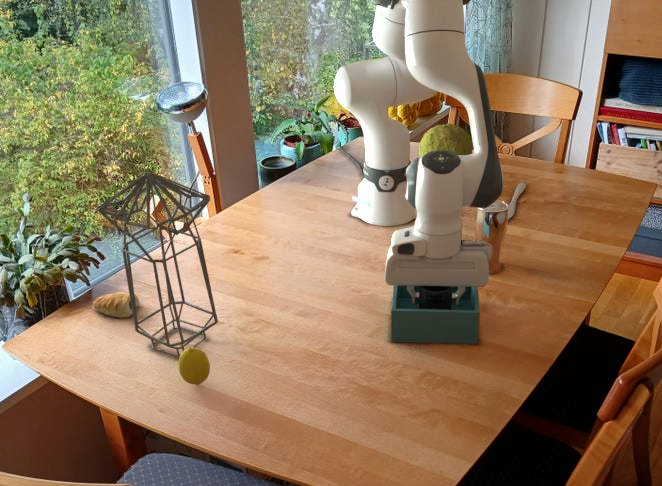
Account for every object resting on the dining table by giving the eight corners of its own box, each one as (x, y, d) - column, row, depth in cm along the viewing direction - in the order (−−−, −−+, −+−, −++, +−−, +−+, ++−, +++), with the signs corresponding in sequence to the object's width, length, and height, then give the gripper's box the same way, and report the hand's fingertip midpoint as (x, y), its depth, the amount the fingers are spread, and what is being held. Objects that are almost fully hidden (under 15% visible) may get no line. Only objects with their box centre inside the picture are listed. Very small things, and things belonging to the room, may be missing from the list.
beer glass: (502, 275, 164) (509, 212, 155) (470, 273, 165) (475, 211, 157) (503, 261, 170) (509, 199, 161) (472, 259, 171) (477, 198, 162)
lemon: (183, 376, 138) (176, 340, 133) (213, 374, 138) (207, 338, 133) (180, 394, 133) (173, 358, 128) (211, 392, 133) (205, 355, 129)
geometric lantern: (180, 314, 156) (149, 152, 136) (236, 336, 148) (212, 167, 128) (123, 350, 145) (80, 180, 125) (180, 376, 138) (144, 199, 118)
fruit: (470, 184, 207) (447, 141, 198) (426, 194, 216) (403, 153, 208) (486, 148, 216) (465, 105, 207) (443, 159, 225) (421, 118, 216)
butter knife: (530, 183, 205) (519, 181, 206) (507, 223, 185) (496, 221, 186) (529, 185, 205) (519, 183, 206) (507, 225, 185) (495, 223, 186)
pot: (419, 302, 153) (419, 273, 149) (450, 303, 153) (451, 273, 149) (418, 326, 146) (419, 295, 142) (451, 327, 145) (452, 296, 141)
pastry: (88, 315, 157) (84, 300, 155) (103, 300, 162) (99, 284, 160) (129, 319, 155) (125, 303, 153) (143, 303, 160) (139, 287, 158)
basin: (394, 298, 158) (394, 269, 154) (473, 300, 156) (475, 270, 152) (391, 341, 144) (391, 310, 140) (477, 344, 143) (480, 312, 138)
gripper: (492, 233, 141) (486, 295, 149) (385, 232, 144) (385, 293, 152) (494, 248, 136) (488, 312, 144) (383, 246, 138) (383, 309, 146)
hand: (434, 302), depth 148 cm, fingers closed on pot, 6 cm apart
